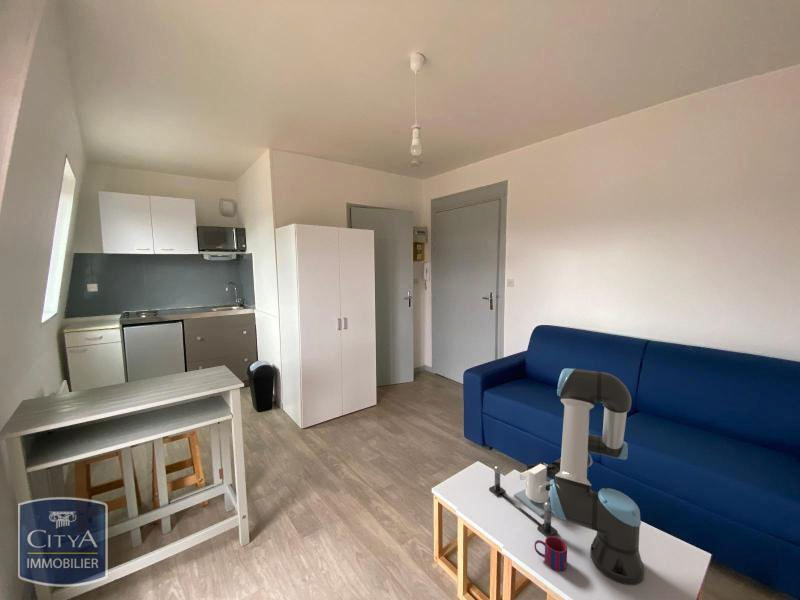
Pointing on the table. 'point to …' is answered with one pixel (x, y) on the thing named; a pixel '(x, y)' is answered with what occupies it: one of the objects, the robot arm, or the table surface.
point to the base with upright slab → (536, 484)
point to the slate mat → (531, 503)
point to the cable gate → (543, 528)
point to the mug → (554, 553)
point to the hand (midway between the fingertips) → (529, 483)
